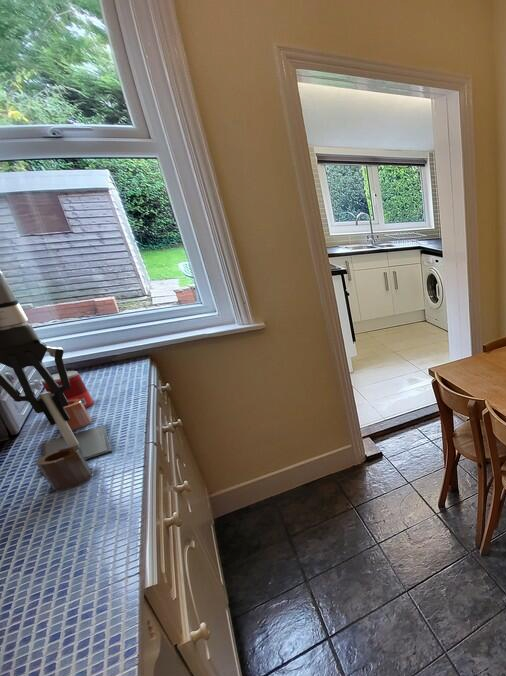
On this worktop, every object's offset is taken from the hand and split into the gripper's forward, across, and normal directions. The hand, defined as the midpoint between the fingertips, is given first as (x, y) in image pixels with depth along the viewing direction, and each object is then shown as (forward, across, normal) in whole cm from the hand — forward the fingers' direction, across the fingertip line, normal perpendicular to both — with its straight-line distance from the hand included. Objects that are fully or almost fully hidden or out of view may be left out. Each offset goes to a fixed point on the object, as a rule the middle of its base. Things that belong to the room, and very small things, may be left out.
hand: (60, 420), depth 99 cm
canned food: (+9, +1, +35) cm, 36 cm away
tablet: (+9, 0, +1) cm, 9 cm away
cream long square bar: (+7, 0, -1) cm, 8 cm away
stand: (+9, -1, -18) cm, 20 cm away
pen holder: (+9, 0, +18) cm, 20 cm away
